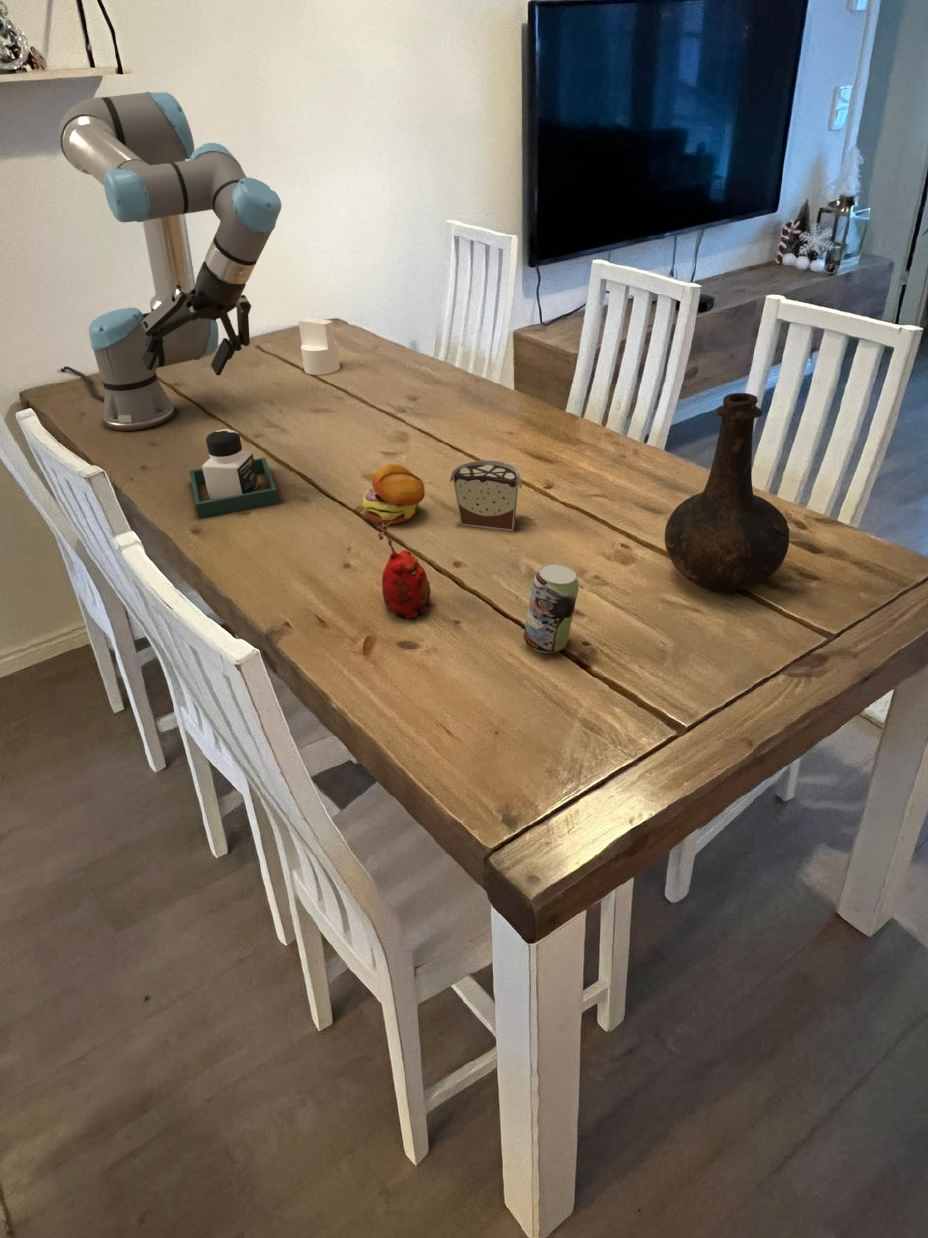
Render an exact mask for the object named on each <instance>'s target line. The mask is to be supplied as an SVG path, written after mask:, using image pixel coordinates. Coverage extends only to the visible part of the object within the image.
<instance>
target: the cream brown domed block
mask: <svg viewBox="0 0 928 1238" xmlns="http://www.w3.org/2000/svg"><path fill="white" fill-rule="evenodd" d="M449 483H453V488H454V493H455V499H456V500H455V501H456V506H457V511H458V516H459V523H460V526H465V527H472V528H473V527H474V528H480V529H482V528H483V529H489V530H490V529H491V530H497V531H498V530H499V531H507V532H514V529H515V525H516V512H517V502H518V491H519V490H521V489H522V487H523V483H522V478H521V475H520V472H519V470H518V469H517V468H516V467H515V466H514V465H512V464H511V463H508V462H504V461H501V460H492V459H490V460H488V459H485V460H484V459H483V460H475V461H469V462H466V463H463V464H460V465H459V466H457V467H455V468H454V469H453V470H452V471H451V474H450V479H449ZM518 489H519V490H518Z"/></svg>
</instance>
